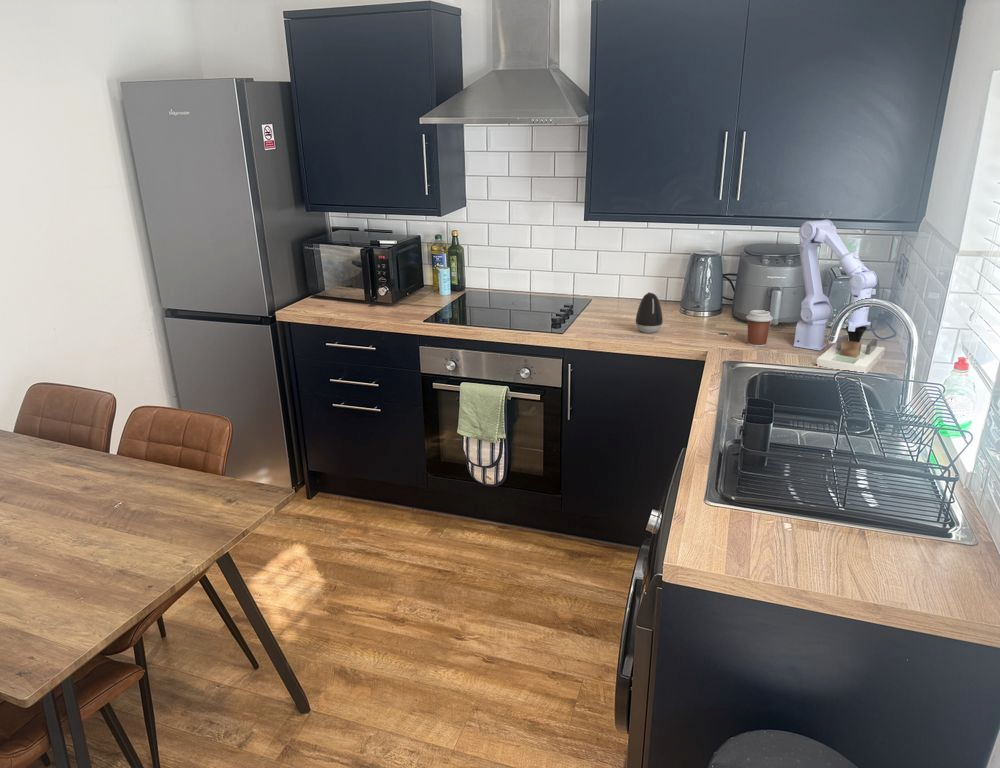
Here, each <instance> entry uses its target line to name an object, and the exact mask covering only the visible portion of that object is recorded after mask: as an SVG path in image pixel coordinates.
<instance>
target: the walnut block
mask: <svg viewBox="0 0 1000 768" xmlns="http://www.w3.org/2000/svg"><path fill="white" fill-rule="evenodd" d="M861 344H863V343H862V342H861V341H860V342H854V341H849V340H848V341H847V340H845V341H844V342H843V343H842V345H841V352H840V355H841V356H847V357H854V358H857V357H858V356H859V355H860V351H861Z"/></svg>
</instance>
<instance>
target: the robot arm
mask: <svg viewBox="0 0 1000 768" xmlns="http://www.w3.org/2000/svg"><path fill="white" fill-rule="evenodd" d="M798 234H799V235H798V236H799V243H798V250H799V256H800V257H799V258H800V263H801V269H802V277H803V282H804V291H805V297H804V299H803V300H802V301H801V303H800V306H801V309H800V312H799V313H800V318H801V320H799V321H797V323H796V327H795V333H794V342H793V347H795V348H802V349H808V350H815V351H819V352H820V351H822V350H823V349H825V348H826V347H827V345H828V344H827V343H825V335H826V329H827V323H828V322H829V320H830V319H831V318H832V316H833V314H834V311H833V310H834V309H833V306H832V304H831V303H830V299H829V297H828V296H827V295H825V293H824V290H823V284H822V277H821V269H820V263H819V257H818V248H820V247H819V246H821V244H823V243H824V244H826V245H827V247H829V249H830V250H832V252H833V253H834V254H835V255H836V257H838V259H839V262H838V264H839V266H840V268H841V269H842V270H843V271H844V272H845V274H846V275H847V277H848V278H849V286H850V289H851V290H850V293H851V298H850V304H851V303H854V302H856V301H858V300H861V299H865V298H872V291H873V289H874V287H876V285H877V284H878V275H877V274H876V272H875V271H874V270H871V269H868V267H867V266H865V265H864V263H863V262H862V261H861V259H860V256H859V254H856V253H851V252H850V251H849V250H848V248H847V247H846V245H845V244H844V242H843V240H842V239H841V238H840V236H839V235H838V233H837V227H836V226H835V225H834V223H833V221H831V219H822V220H808V221H807V220H806V221H804V222H803V223H802V224H801V226H800V228H799V229H798ZM869 311H870V306H869V307H863V308H860V309H857V310H856V311H854V312H853V313H851V314H850V315H849V314H848V318H847V326H846V328H845V329H846V330H845V331H846V332H847V335H848V336H849V337H848V341H854V342H861V340H862V336H863V335H864V333H865V331H866V330H867V329H868V326H870V325H871V324H872V322H871V321H868V318H869Z"/></svg>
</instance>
